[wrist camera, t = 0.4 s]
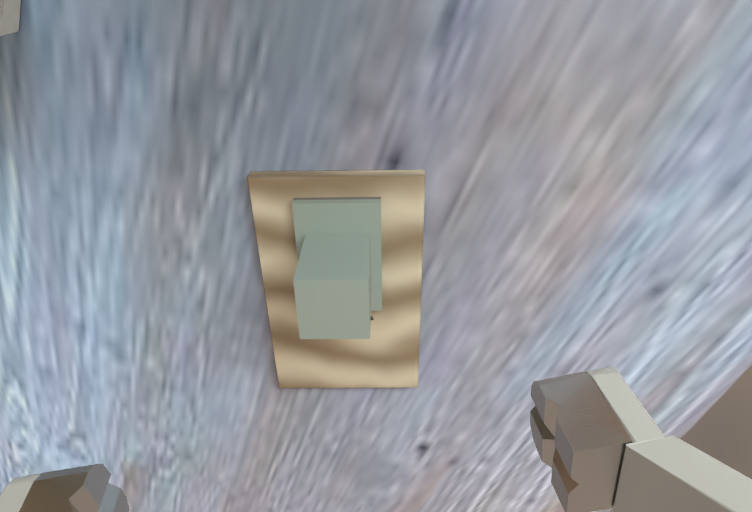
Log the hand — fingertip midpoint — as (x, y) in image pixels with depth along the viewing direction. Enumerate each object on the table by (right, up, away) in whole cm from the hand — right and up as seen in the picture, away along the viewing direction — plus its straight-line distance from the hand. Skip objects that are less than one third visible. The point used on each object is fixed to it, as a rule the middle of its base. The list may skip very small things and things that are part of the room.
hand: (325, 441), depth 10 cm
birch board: (-2, 0, +45) cm, 45 cm away
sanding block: (-2, +4, +41) cm, 41 cm away
